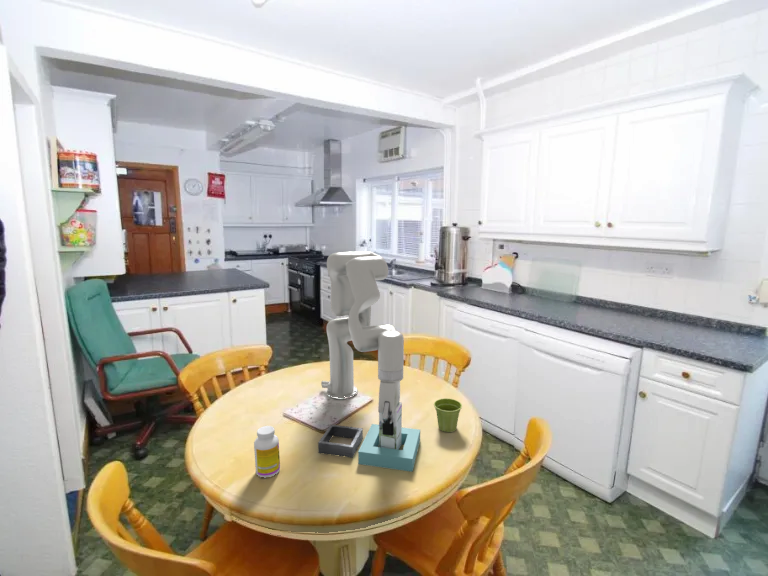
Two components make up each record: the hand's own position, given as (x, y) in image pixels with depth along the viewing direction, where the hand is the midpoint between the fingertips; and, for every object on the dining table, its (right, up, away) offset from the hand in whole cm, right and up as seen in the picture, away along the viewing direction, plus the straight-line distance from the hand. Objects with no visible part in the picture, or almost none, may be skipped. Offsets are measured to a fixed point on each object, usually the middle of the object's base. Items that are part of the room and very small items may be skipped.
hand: (390, 428), depth 120 cm
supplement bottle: (-35, -10, -8) cm, 37 cm away
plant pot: (+20, -6, +15) cm, 25 cm away
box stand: (-15, -7, +5) cm, 18 cm away
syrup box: (0, -7, +1) cm, 7 cm away
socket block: (0, -8, +1) cm, 8 cm away
